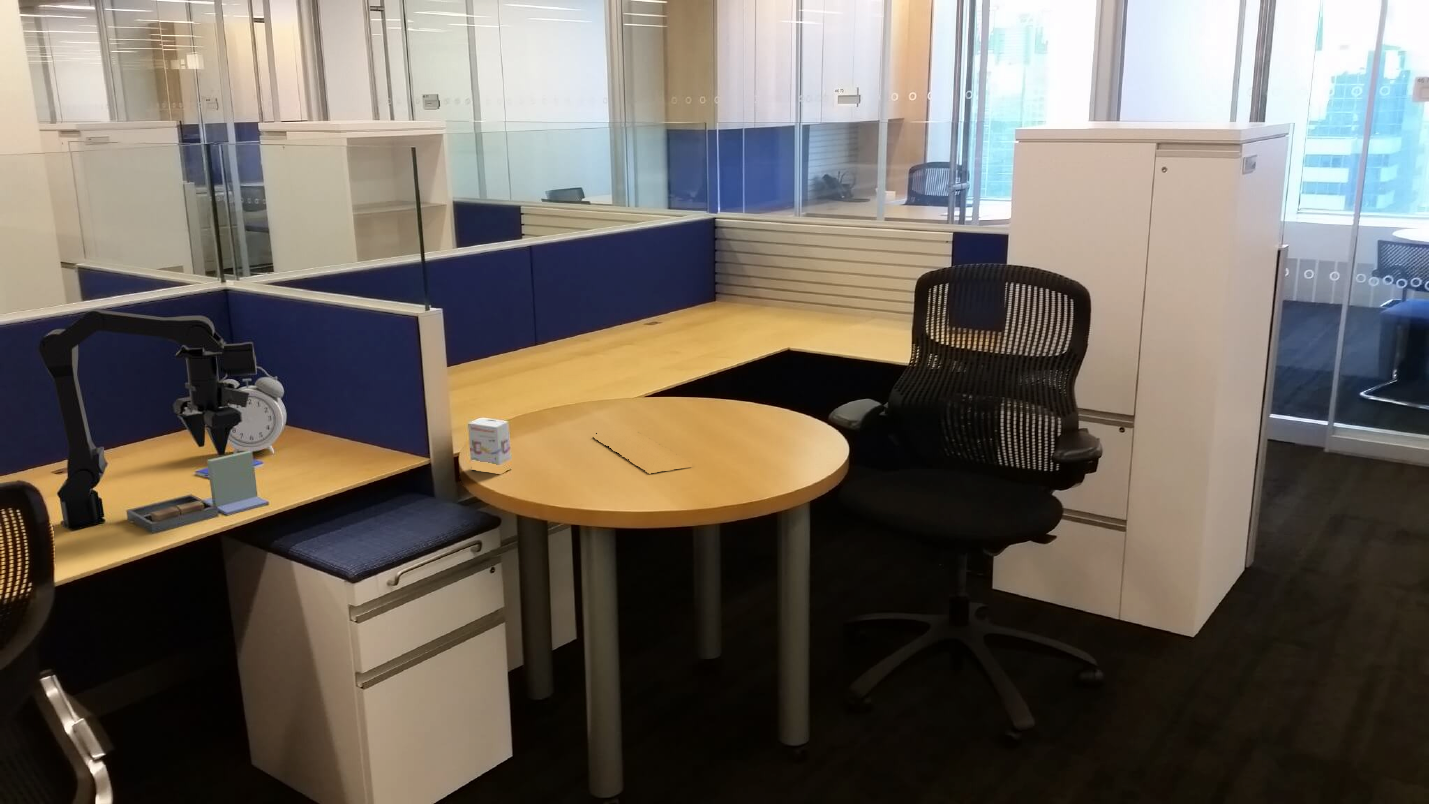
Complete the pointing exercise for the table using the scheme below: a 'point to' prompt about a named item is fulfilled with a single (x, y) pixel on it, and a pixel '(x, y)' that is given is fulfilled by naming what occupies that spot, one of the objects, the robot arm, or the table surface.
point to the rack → (144, 519)
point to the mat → (240, 505)
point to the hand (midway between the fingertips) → (211, 450)
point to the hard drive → (206, 473)
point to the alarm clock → (258, 415)
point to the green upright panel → (232, 478)
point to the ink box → (489, 440)
